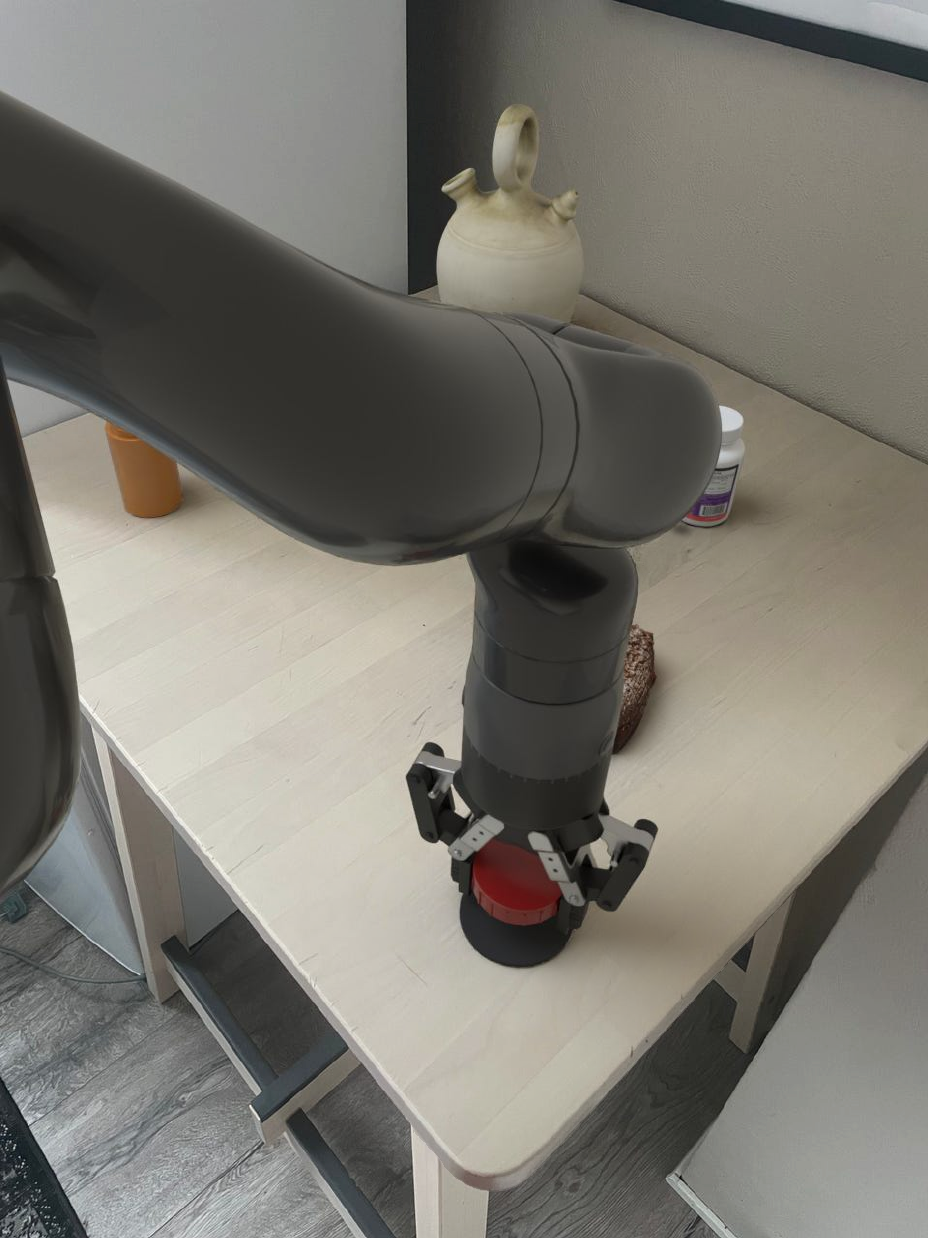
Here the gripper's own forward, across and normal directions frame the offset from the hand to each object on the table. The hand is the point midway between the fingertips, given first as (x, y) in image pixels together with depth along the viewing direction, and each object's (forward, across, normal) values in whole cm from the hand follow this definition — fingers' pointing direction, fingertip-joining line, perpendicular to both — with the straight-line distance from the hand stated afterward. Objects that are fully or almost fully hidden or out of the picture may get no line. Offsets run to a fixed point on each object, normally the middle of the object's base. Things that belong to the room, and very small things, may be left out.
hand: (517, 900), depth 62 cm
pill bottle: (+2, 0, -45) cm, 45 cm away
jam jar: (+2, +45, -25) cm, 51 cm away
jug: (+2, +27, -65) cm, 70 cm away
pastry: (+2, +3, -19) cm, 19 cm away
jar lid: (-3, 0, 0) cm, 3 cm away
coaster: (+1, 0, 0) cm, 1 cm away
